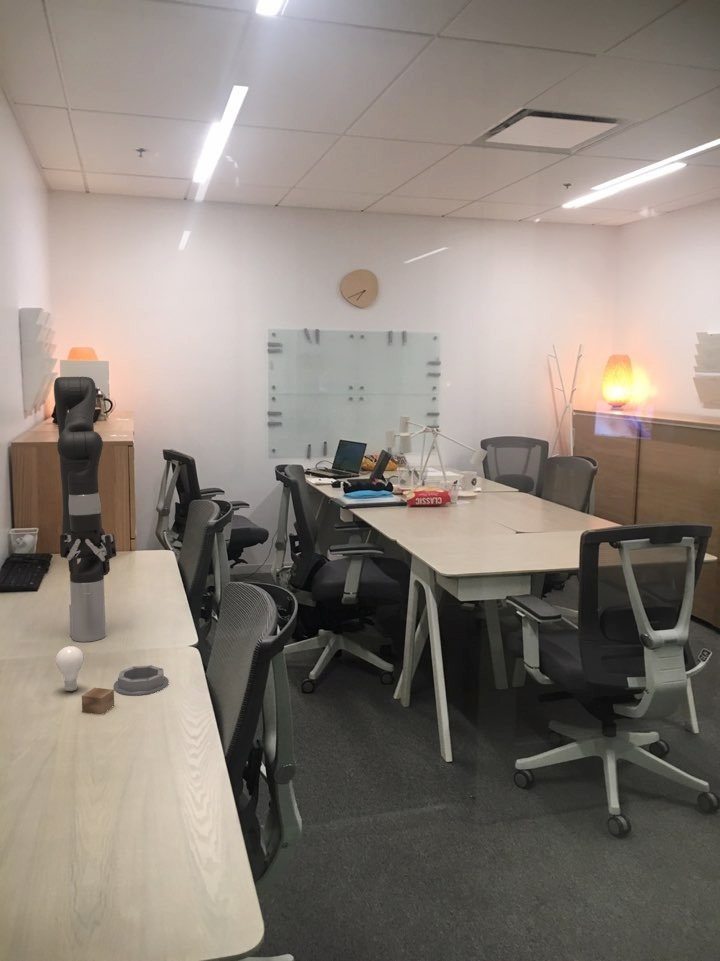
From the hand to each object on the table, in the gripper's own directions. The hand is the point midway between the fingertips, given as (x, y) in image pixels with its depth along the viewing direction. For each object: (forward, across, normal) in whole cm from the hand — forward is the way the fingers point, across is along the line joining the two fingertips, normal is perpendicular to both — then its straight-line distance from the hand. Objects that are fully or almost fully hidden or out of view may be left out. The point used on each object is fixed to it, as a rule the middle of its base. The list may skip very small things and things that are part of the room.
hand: (89, 574), depth 195 cm
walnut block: (+26, +13, -21) cm, 36 cm away
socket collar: (+26, +16, -6) cm, 31 cm away
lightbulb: (+26, +1, -13) cm, 29 cm away
